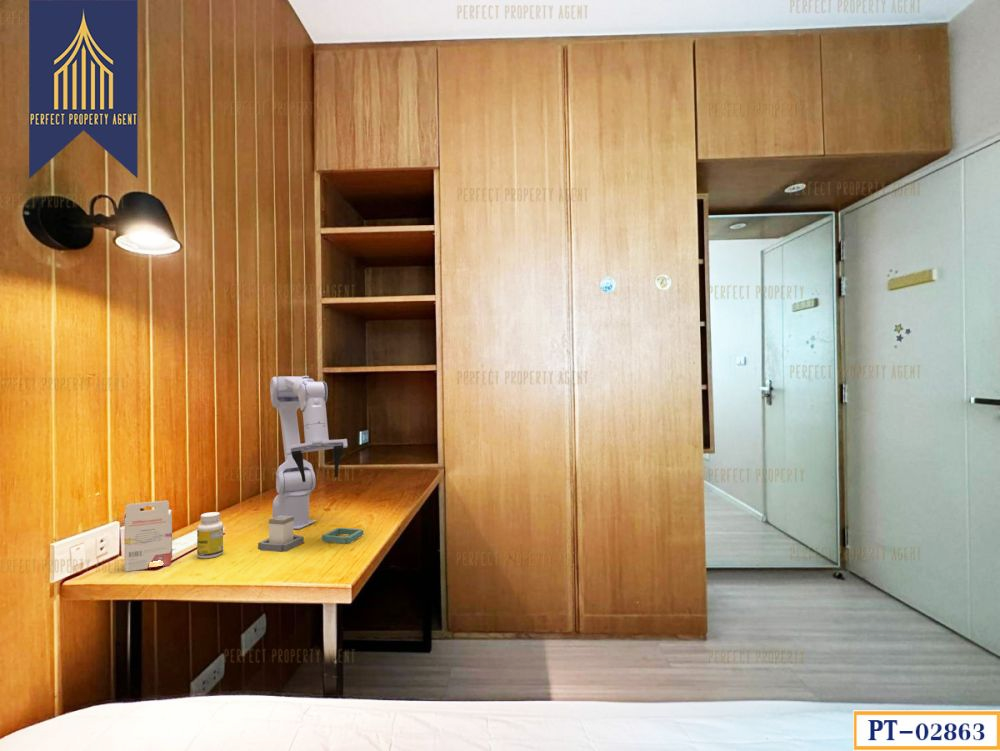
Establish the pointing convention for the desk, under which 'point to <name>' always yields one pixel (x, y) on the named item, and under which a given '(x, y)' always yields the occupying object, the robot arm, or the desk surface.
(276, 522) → the plug
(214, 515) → the supplement bottle
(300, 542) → the socket
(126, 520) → the ink cartridge box
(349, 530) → the socket
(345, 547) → the desk surface
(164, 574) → the desk surface
